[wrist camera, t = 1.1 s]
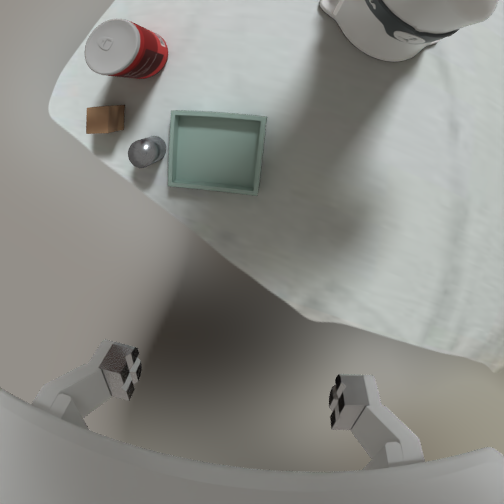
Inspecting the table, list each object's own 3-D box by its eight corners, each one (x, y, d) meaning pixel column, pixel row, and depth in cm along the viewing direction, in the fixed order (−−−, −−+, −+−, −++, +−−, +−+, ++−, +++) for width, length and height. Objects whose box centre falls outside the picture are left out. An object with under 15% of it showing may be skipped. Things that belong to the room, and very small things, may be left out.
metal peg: (142, 135, 43) (128, 139, 38) (166, 136, 43) (153, 140, 38) (142, 160, 44) (128, 167, 40) (165, 161, 44) (153, 168, 40)
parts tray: (177, 110, 41) (171, 110, 38) (267, 116, 40) (266, 117, 38) (173, 182, 46) (167, 186, 43) (258, 191, 45) (257, 195, 43)
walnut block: (103, 106, 41) (86, 107, 36) (124, 105, 41) (108, 106, 36) (103, 129, 42) (86, 133, 38) (123, 129, 42) (108, 133, 38)
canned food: (131, 31, 35) (94, 17, 25) (177, 37, 35) (147, 20, 26) (117, 75, 38) (77, 71, 28) (161, 83, 39) (127, 79, 29)
